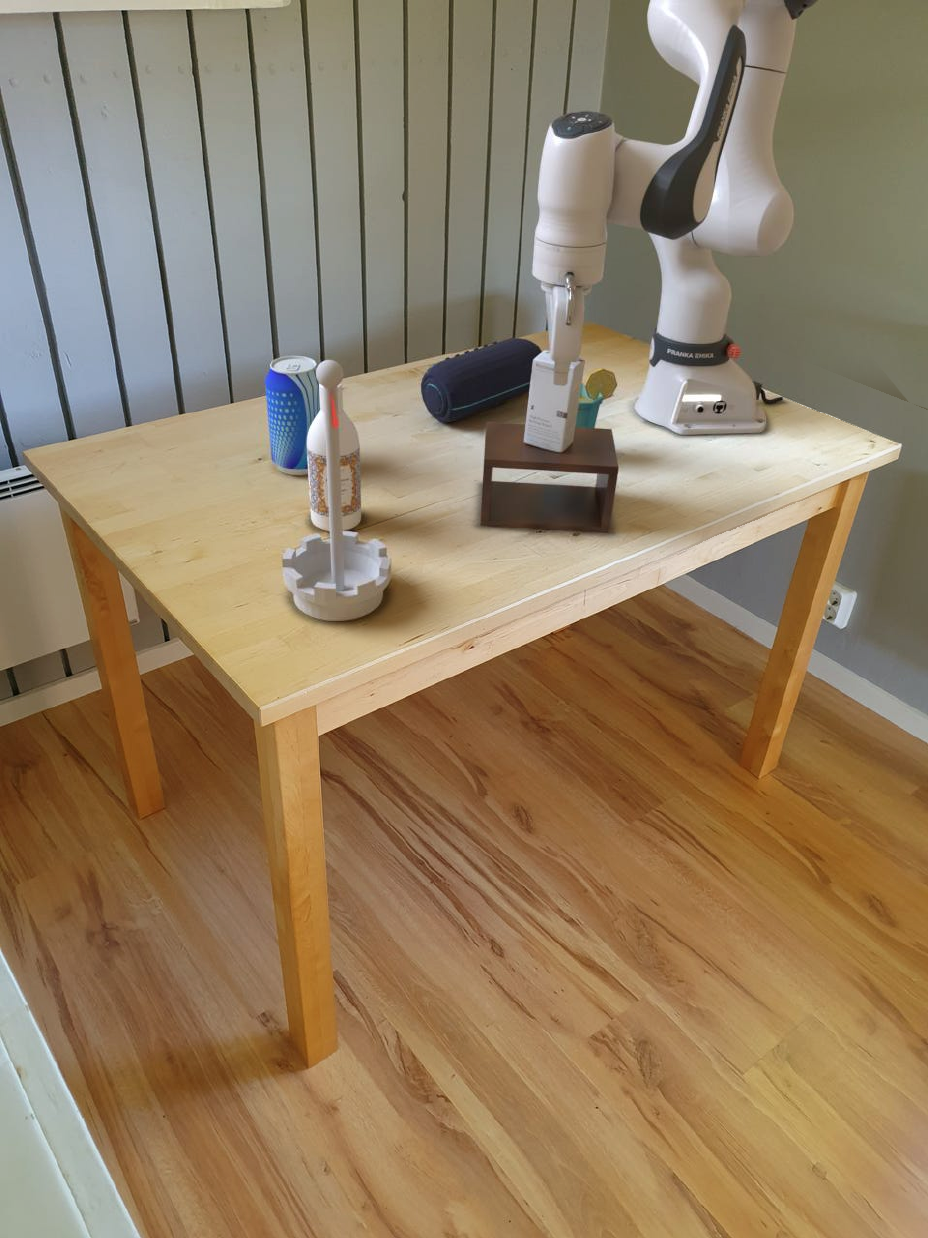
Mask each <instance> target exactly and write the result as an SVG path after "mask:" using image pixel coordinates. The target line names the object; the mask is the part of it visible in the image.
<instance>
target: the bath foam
mask: <svg viewBox="0 0 928 1238" xmlns="http://www.w3.org/2000/svg"><path fill="white" fill-rule="evenodd" d="M337 391H338V419H339V446H340V474H341V502H342V529H343V531H350V530H352V529H354V528H356V527H357V526H358V525H359V524H360V522H361V521H362V491H361V490H362V489H361V488H362V487H361V486H362V485H361V484H362V483H361V451H360V450H361V449H360V448H361V447H360V438H359V433H358V431H357V429H356V426H355V424H354V422H353V421H352V420H351V418H350V417H349V416H348V414H347V413H346V411H345V410H344V397H343V395H344V393H343V384H342V382H341V383H340V384H339V385H338V386H337ZM319 394H320V411H319V413H318V414H317V416H316V417H315V419H314V421H313V422H312V424H311V426H310V428H309V431H308V436H307V461H308V475H307V476H308V477H307V478H308V492H309V494H308V495H309V508H310V519H311V520H310V521H311V522H312V524H313V525H314V526H315V527H317V528H318V529H320V530H322V531H326V532H330V527H329V505H328V483H327V461H326V439H325V417H324V395H323V386H322V385H321V384H319Z"/></svg>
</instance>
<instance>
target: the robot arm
mask: <svg viewBox="0 0 928 1238" xmlns="http://www.w3.org/2000/svg"><path fill="white" fill-rule="evenodd" d="M818 1H819V0H649V4H648V8H647V14H646V16H647V17H646V19H647V20H646V21H647V31H648V34H649V37H650V40H651V42H652V45H653V46H654V49H655V50H656V51H657V52H658V54H659V55H660V57H661V58H662V59H663V60H664V61H665V63H667V64H668V65H669V66H670V67H671V68H672V69H674V70H676V71H677V72H679V73H681V74H683V75H684V76H686V77H687V78H689V79H690V80H692V81H693V82H694V83H696V84H697V85H698V86H699V88H698V91H697V93H696V98H695V101H694V105H693V108H692V112H691V115H690V119H689V122H688V125H687V129H686V132H685V135H684V137H683V138H682V139H681V140H679V141H677V142H676V143H672V144H661V143H655V142H648V141H643V140H638V139H633V138H628V137H624V136H623V135H621V134H619V133H617V132H616V130H615V129H616V127H615V123H614V119H613V118H612V117H610V116H609V115H607V114H605V113H601V112H598V111H592V110H591V111H589V110H580V111H575V112H568V113H565V114H562V115H561V116H560V115H559V117H557V118H555V119H554V120H553V121H552V122H551V123H550V124H549V126H548V130H547V132H546V136H545V138H544V139H545V140H544V143H543V148H542V154H541V159H540V165H539V174H538V184H537V204H538V208H539V209H538V210H539V216H538V221H537V224H536V227H535V229H534V239H533V240H534V241H533V252H532V253H533V254H532V267H531V274H532V276H533V277H534V278H535V279H536V280H538V281H540V288H541V290H542V291H543V292H544V293H545V306H546V307H545V308H546V317H547V319H546V320H547V333H548V345H549V351H550V358H551V360H552V361H554V373H553V383H554V384H555V385H561V386H564V385H566V384H567V381H568V373H569V369H570V365H571V362H577V361H578V360H579V358H580V357H581V352H582V345H583V344H582V343H583V331H584V322H585V321H584V320H585V296H586V295H588V294H590V293H591V292H592V287H593V285H596V284H597V283H599V282H601V281H602V280H603V278H604V270H605V263H606V254H607V253H606V252H607V245H608V229H607V222H608V223H611V224H613V225H617V226H622V227H628V228H632V229H637V230H640V231H645V232H647V233H648V235H649V237H650V239H651V241H652V244H653V246H654V248H655V251H656V255H657V257H658V262H659V266H660V272H661V293H660V294H661V295H660V304H659V312H658V318H657V324H656V327H655V328H654V329H653V332H652V333H653V334H652V337H651V342H650V346H649V355H648V359H649V362H648V363H649V366H648V370H647V372H646V377H645V378H644V379H645V380H644V382H643V385H642V389H641V391H640V393H639V396H638V398H637V400H636V402H635V404H634V411H635V412H636V413H637V414H638V415H639V416H640V417H641V418H642V419H644V420H645V421H648V422H650V423H653V424H655V425H658V426H661V427H664V428H667V429H669V431H671V432H674V433H676V434H678V435H682V436H687V435H689V436H690V435H692V436H693V435H723V434H725V435H727V434H729V435H730V434H758V433H762V432H763V431H765V430H766V429H765V428H766V426H767V415H766V413H765V411H764V409H763V408H762V406H761V405H760V404H759V403H757V401H759V400H760V398H761V401H762V402H763V403H764V404H767V405H773V404H776V403H779V402H783V401H784V397H783V396H778V397H776V398H773V399H768V398H767V395H766V391H765V390H764V389H763V388H762V387H763V383H760V382H757V381H755V380H752V377H750V375H749V374H748V373H747V372H746V371H745V370H744V369H742V367H740V365H738V363H736V362H735V361H734V360H737V359H738V358H739V357H741V355H742V352H741V349H740V347H739V345H738V344H736V343H735V341H734V340H733V339H732V338H731V337H730V336H729V335H728V334H727V333H726V332H725V331H726V326H727V321H728V316H729V313H730V307H731V302H732V298H733V297H732V296H733V295H732V288H731V284H730V282H729V281H728V279H727V277H726V276H725V275H724V274H723V273H722V272H721V270H719V268H718V267H717V265H716V263H715V261H714V258H713V253H712V251H715V252H719V253H723V254H727V255H730V256H734V257H741V258H742V257H744V258H765V257H766V258H767V257H769V256H771V255H773V254H774V253H775V252H776V251H778V250H779V249H780V248H781V247H782V246H783V244H784V243H785V242H786V240H787V239H788V237H789V235H790V233H791V230H792V228H793V224H794V218H795V209H794V204H793V200H792V198H791V195H790V194H789V192H788V191H787V190H786V188H785V186H784V185H783V183H782V181H781V179H780V177H779V174H778V171H777V168H776V163H775V159H774V157H775V156H774V149H773V148H774V146H773V141H774V140H773V138H774V128H775V122H776V118H777V113H778V109H779V105H780V100H781V95H782V93H783V88H784V83H785V79H786V77H787V72H788V68H789V65H790V62H791V57H792V56H791V55H792V51H793V46H794V42H795V41H794V39H795V34H796V26H797V19H799V18H800V17H801V16H802V15H803V13H804V12H805V10H807V9H809V8H811V7H813V6H814V5H815V4H816V3H817V2H818ZM580 359H581V358H580Z"/></svg>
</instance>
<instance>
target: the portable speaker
mask: <svg viewBox="0 0 928 1238" xmlns="http://www.w3.org/2000/svg"><path fill="white" fill-rule="evenodd" d="M542 352H543V350H542V349H541V347H540V346H539V345H538V344H536V343H534V342H533V341H531V340H530V339H526V338H520V337H511V338H506V339H504V340H501V341H493V342H492V344H483V346H482V347H480V348H479V347H476V348H473V350H471V351H469V350H466V351H464V353H462V354H460V353H457V354H455V355H454V356H453V357H449V356H447V357H446V358H444V360H440V361H438V362H436V363H433V364H432V365H431V366H429V368H428V369H427V370H426V371H425V373H424V375H423V376H422V379H421V382H420V393H421V398H422V402H423V403H424V405H425V408H426V410H427V412H428V413H429V414H430V415H431V416H432V417H433V418H434V419H435V420H437V421H439V422H443V423H451V422H456V421H460V420H463V419H466V418H468V417H471V416H473V415H476V414H478V413H481V412H484V411H486V410H488V409H491V408H494V407H496V406H499V405H502V404H504V403H506V402H509V401H511V400H514V399H517V398H519V397H523V396H524V395H527V394H529V391H530V382H531V374H532V364H533V360H534V359H535V358H536V357H537V356H538V355H539V354H540V353H542Z"/></svg>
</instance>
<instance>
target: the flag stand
mask: <svg viewBox="0 0 928 1238" xmlns="http://www.w3.org/2000/svg"><path fill="white" fill-rule="evenodd" d="M343 369H344V368H343V367H342V365H341V364H340V363H339V362H338V361H336V360H333V359H325V360H323V361H321V362H320V363H319V364H317V370H316V378H317V380H318V382H319V383H320V384H321V385H322V386H323V395H324V417H325V439H326V461H327V483H328V505H329V527H330V531H329V538H327V539H326V538H325V539H322V536H321V534H320V533H319V532H316V533H312V534H309V535H306V536H304V537H302V538H300V547H298V548H296V549H295V548H291V547H287V549H286V550H285V551H284V552H283V555H282V557H281V558H282V559H281V561H282V562H281V563H282V575H283V582H284V584H285V587H286V588H287V589H288V590H289V591H290V593H292V594H293V602H294V604H295V606H296V607H297V608H298V609H299V611H301V612H302V613H303V614H305V615H307V616H309V617H311V618H315V619H317V620H323V621H328V622H343V621H350V620H355V619H359V618H362V617H364V616H367V615H369V614H371V613H372V612H374V611H375V610H376V609H377V608H378V607H379V606H380V605H381V602H382V601H383V598H384V597H383V596H384V590H385V589H386V588H387V587H388V585H389V583H390V581H391V579H392V557H389V556H388V548H387V546H386V545H385V544H384V543H383V542H382V541H381V540H379V539H377V538H373V539H371V540H369V541H368V542H366V541H362V540H359V532H356V531H350V530H346V531H343V529H342V502H341V474H340V446H339V419H338V391H337V386H338V385H339V384H340V383H342V382H343V381H344V380H343V379H344V375H345V374H344V370H343Z"/></svg>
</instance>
